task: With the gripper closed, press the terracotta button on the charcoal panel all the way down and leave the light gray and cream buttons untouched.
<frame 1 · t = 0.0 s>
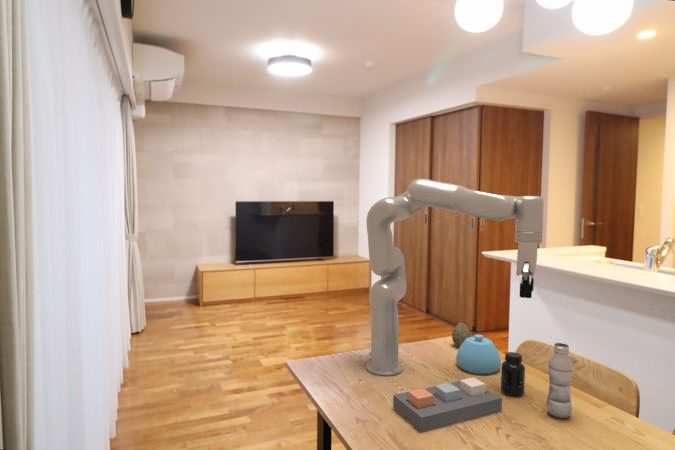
hand: (526, 294, 136), 31 cm above the table, tool pointing down, fingers open, 9 cm apart
plastic bottle: (558, 415, 126), on the table
supplement bottle: (512, 393, 140), on the table
button panel: (447, 410, 129), on the table
light gray button: (447, 395, 129), point 4 cm above the table, slide at 0.0 cm
cream button: (472, 389, 132), point 4 cm above the table, slide at 0.0 cm
decorative egg: (461, 347, 181), on the table
sugar bowl: (478, 368, 160), on the table
terracotta button: (420, 401, 125), point 4 cm above the table, slide at 0.0 cm
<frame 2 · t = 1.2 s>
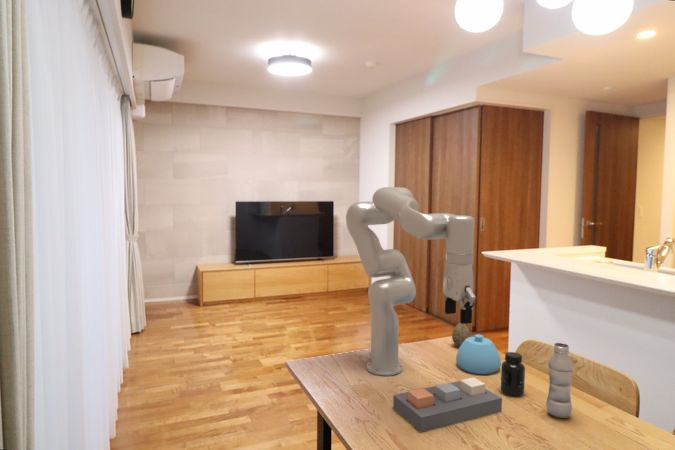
hand: (457, 318, 130), 26 cm above the table, tool pointing down, fingers open, 9 cm apart
nothing on the table moved.
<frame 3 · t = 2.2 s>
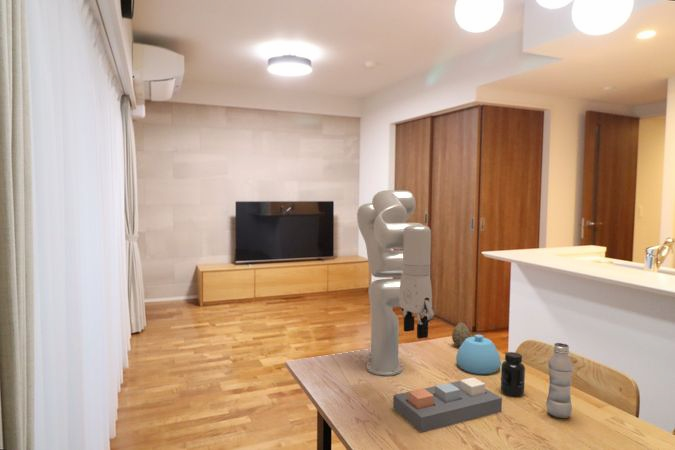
hand: (415, 333, 126), 23 cm above the table, tool pointing down, fingers open, 5 cm apart
nothing on the table moved.
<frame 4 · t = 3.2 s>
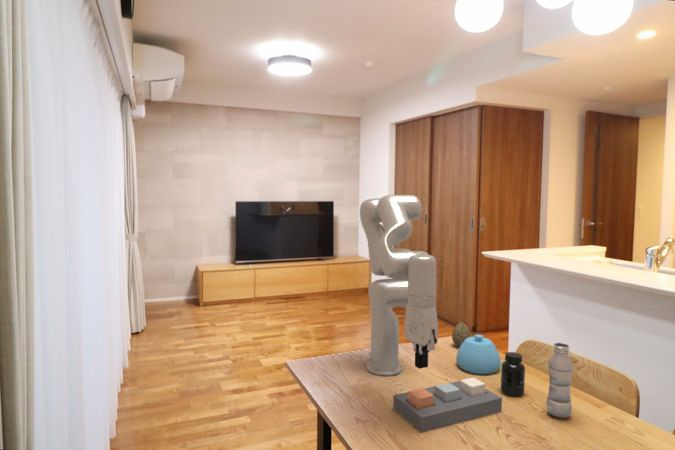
hand: (421, 366, 124), 14 cm above the table, tool pointing down, fingers closed
nothing on the table moved.
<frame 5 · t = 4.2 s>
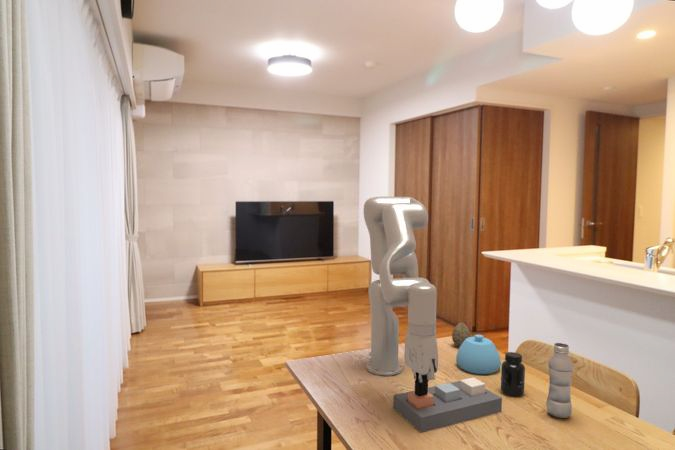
hand: (421, 394, 125), 6 cm above the table, tool pointing down, fingers closed
terracotta button: (420, 401, 125), point 4 cm above the table, slide at 0.2 cm, touching gripper
everything else where it was.
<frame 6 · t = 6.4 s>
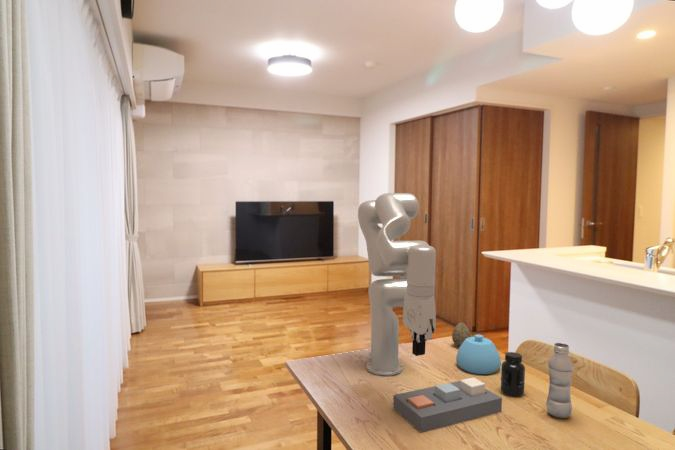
hand: (418, 354, 127), 17 cm above the table, tool pointing down, fingers closed
terracotta button: (420, 408, 125), point 2 cm above the table, slide at 2.0 cm
everything else where it was.
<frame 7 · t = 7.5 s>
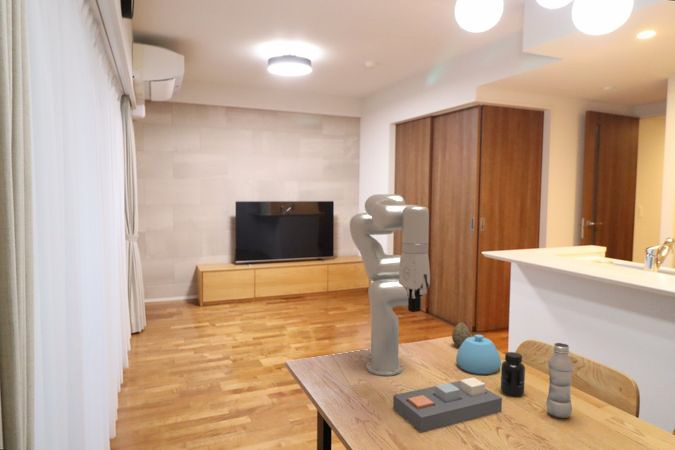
hand: (414, 310, 133), 27 cm above the table, tool pointing down, fingers closed
nothing on the table moved.
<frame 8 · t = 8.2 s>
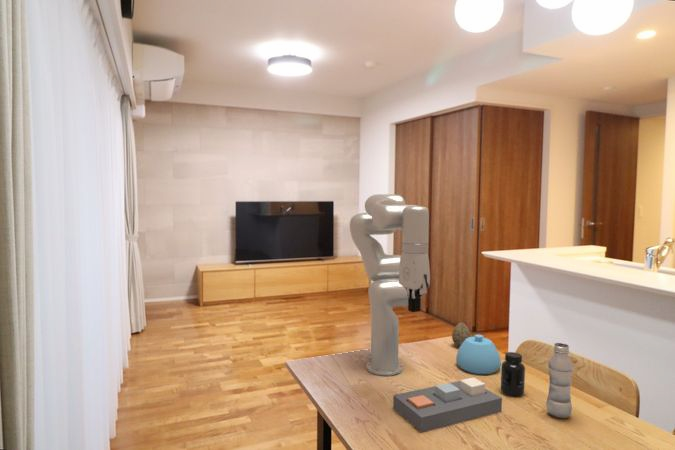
hand: (414, 310, 133), 27 cm above the table, tool pointing down, fingers closed
nothing on the table moved.
at the end: terracotta button slide at 2.0 cm; light gray button slide at 0.0 cm; cream button slide at 0.0 cm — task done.
